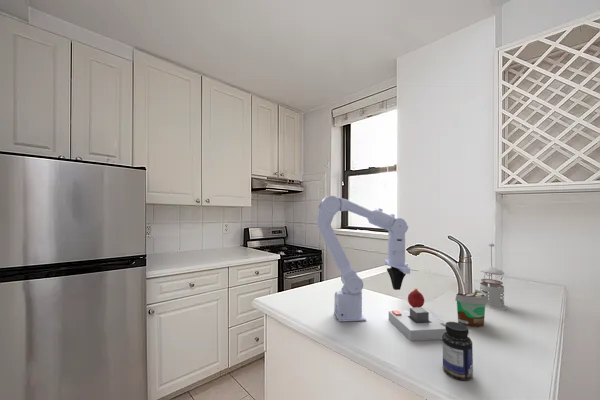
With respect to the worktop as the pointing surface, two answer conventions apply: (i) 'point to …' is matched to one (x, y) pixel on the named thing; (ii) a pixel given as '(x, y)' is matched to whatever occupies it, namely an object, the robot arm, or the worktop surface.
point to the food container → (471, 308)
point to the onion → (416, 299)
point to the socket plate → (417, 326)
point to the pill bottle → (457, 351)
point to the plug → (419, 315)
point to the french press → (493, 287)
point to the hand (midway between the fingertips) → (396, 289)
